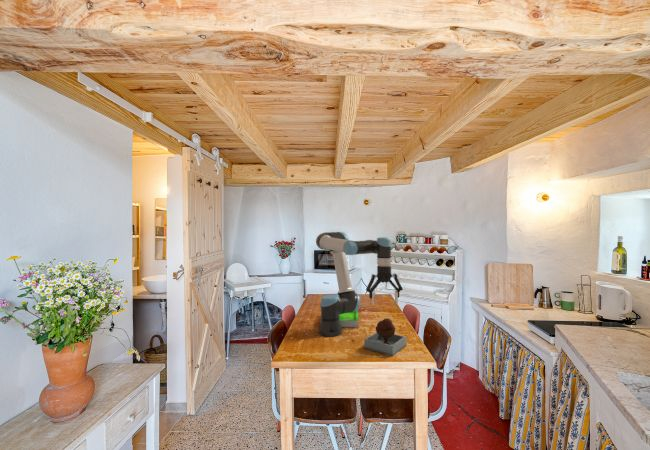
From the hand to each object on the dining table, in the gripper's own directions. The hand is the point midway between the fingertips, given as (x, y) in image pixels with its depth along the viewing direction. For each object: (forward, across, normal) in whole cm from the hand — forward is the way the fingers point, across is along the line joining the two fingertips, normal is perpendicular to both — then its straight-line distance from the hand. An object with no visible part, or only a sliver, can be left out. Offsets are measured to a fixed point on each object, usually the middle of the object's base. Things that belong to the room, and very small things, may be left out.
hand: (384, 303), depth 172 cm
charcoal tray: (+24, 0, 0) cm, 24 cm away
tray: (+25, -17, +49) cm, 57 cm away
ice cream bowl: (+23, 0, 0) cm, 23 cm away
